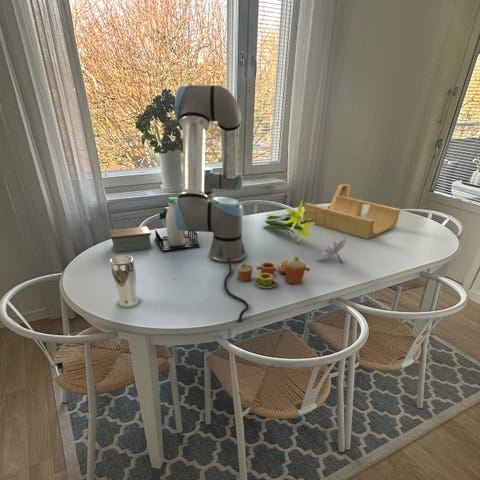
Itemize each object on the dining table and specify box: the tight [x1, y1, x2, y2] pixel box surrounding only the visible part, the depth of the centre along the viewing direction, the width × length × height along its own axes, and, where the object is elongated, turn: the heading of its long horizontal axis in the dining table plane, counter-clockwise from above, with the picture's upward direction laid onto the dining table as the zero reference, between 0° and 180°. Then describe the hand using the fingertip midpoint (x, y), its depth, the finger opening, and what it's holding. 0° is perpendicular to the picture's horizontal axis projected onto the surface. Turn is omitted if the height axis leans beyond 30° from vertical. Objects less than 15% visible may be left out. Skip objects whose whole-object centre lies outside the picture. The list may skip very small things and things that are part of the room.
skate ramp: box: [302, 180, 402, 240], centre depth 184 cm, size 40×35×16 cm
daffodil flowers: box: [262, 200, 316, 243], centre depth 163 cm, size 17×15×35 cm
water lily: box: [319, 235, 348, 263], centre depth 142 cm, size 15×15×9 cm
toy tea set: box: [236, 255, 311, 289], centre depth 125 cm, size 26×16×10 cm, turn 112°
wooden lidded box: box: [108, 226, 152, 254], centre depth 148 cm, size 9×16×7 cm, turn 114°
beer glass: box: [109, 254, 140, 308], centre depth 107 cm, size 7×7×15 cm
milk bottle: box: [165, 196, 186, 247], centre depth 150 cm, size 8×8×20 cm
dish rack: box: [154, 227, 200, 253], centre depth 154 cm, size 17×16×6 cm
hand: (174, 218), depth 149 cm, fingers open, 13 cm apart
